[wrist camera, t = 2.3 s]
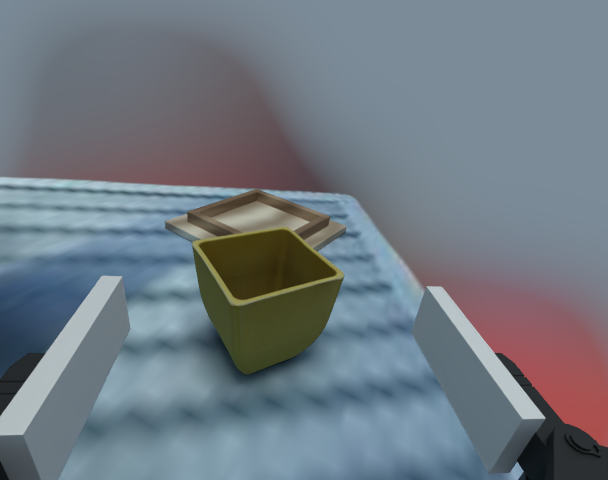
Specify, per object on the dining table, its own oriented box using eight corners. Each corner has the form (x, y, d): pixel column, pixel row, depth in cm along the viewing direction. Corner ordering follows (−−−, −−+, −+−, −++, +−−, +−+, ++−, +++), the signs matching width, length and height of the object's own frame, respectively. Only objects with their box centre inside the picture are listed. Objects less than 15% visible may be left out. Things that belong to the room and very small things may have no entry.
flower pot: (192, 327, 31) (189, 238, 27) (278, 303, 35) (287, 224, 31) (229, 406, 24) (233, 306, 20) (328, 364, 29) (348, 275, 25)
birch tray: (165, 228, 46) (164, 210, 45) (254, 196, 60) (255, 183, 59) (270, 282, 38) (272, 263, 37) (345, 232, 52) (348, 217, 51)
